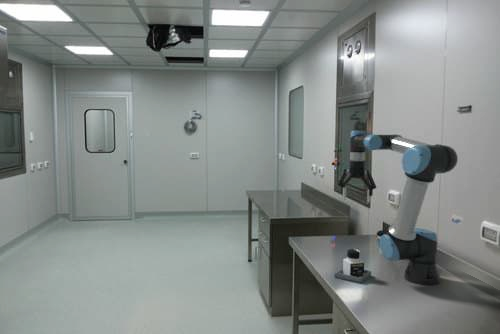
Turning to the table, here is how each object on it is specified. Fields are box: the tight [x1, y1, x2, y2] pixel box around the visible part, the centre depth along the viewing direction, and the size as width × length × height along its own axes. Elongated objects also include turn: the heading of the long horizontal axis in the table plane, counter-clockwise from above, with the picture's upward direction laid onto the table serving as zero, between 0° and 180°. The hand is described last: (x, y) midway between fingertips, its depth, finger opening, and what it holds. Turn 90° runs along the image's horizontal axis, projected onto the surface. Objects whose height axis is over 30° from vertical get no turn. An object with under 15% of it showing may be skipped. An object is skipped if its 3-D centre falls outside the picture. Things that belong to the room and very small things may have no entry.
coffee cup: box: [376, 229, 388, 255], centre depth 228 cm, size 11×11×12 cm
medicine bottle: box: [342, 248, 365, 277], centre depth 191 cm, size 7×7×12 cm
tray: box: [334, 267, 372, 285], centre depth 191 cm, size 13×13×2 cm
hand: (356, 200), depth 214 cm, fingers open, 13 cm apart
